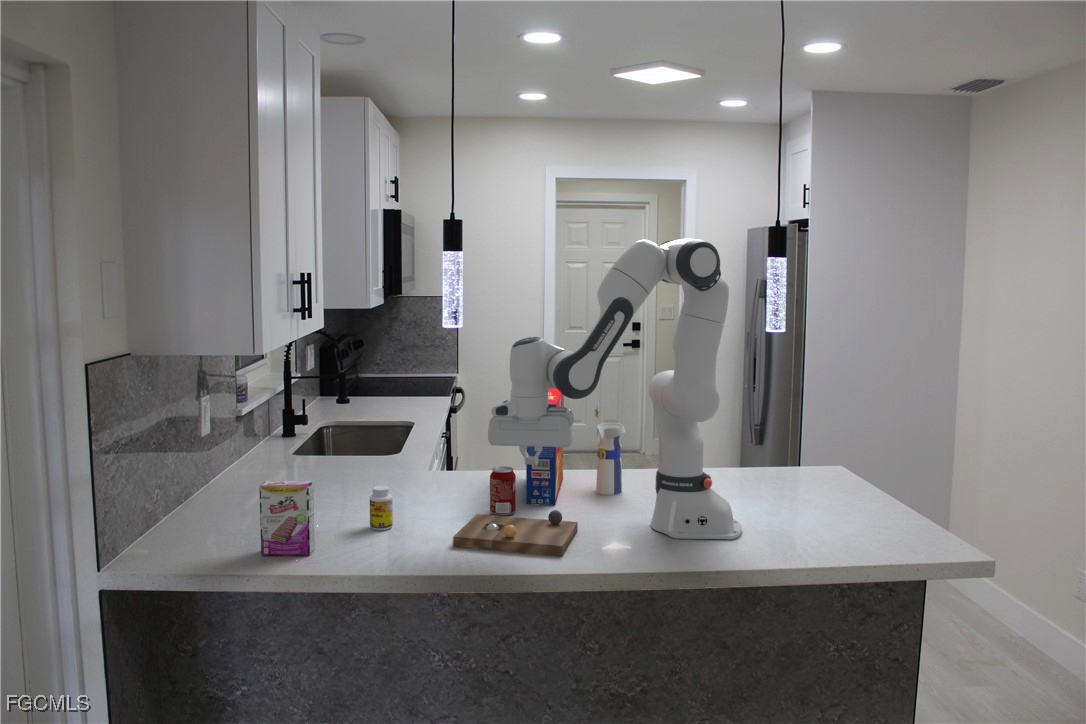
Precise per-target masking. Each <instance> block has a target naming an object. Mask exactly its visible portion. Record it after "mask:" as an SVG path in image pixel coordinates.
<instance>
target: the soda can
mask: <svg viewBox="0 0 1086 724" xmlns="http://www.w3.org/2000/svg"><path fill="white" fill-rule="evenodd" d="M516 477H517V476H516V473H515V472H514V468H513V467H512V466H506V465H505V466H496V467H495V466H494V467H492V472H491V473H490V475H489V512H490V513H492V515H495V516H508V517H510V516H511V515H513V514H515V512H516V507H517V506H516V504H517V502H516V497H517V495H516V493H517V490H516V488H517V485H516V484H517V478H516Z"/></svg>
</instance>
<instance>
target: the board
mask: <svg viewBox="0 0 1086 724" xmlns="http://www.w3.org/2000/svg"><path fill="white" fill-rule="evenodd" d="M491 523H495V524H497V525H498V526H499V528H500V531H495V530H486V527H487V526H488V525H489V524H491ZM507 525H513V526H515V528H516V530H517V532H516V535H515V536H514V537H512V538H508V537H506V536H505V534H504V528H505V527H506V526H507ZM578 525H579V524H578V521H569V520H561V522H560V523H559V524H552V523H550V521H549V519H545V518H544V519H542V518H531V517H521V516H520V517H519V516H517V517H516V516H497V515H494V514H491V515H490V514H482V513H481V514H479V513H476V514H475V515H474V516H473V517H471V519H470V520H469V521H467V522H466V524H465V525H464V526H462V528H460V530H459V531H458V532H457V533H455V534H454V535H453V537H452V542H453V543H452V547H453V548H459V549H460V548H462V549H471V550H473V549H474V550H484V551H494V552H495V551H496V552H507V553H515V552H519V553H518V554H527V553H528V555H529V554H530V555H539V556H550V557H551V556H552V557H553V556H554V557H563V556H564V554H565V553H566V551H567V550H568V548H569V546H570V545H571V543H572V541H573V540H574V538H575V537H576V535H577V533H578V530H579V528H578Z"/></svg>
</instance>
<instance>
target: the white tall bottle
mask: <svg viewBox="0 0 1086 724" xmlns="http://www.w3.org/2000/svg"><path fill="white" fill-rule="evenodd" d="M594 412H595V414H594V418H597V419H599V414H600V411H599V406H596V408H595V409H594ZM624 426H625V425H624V424H621V423H612V422H606V423H599V424H598V425H597V426H596V436H598V434H599V443H598V444H597V447H598V449H597V450H596V456H597V464H596V484H595V485H596V486H595V492H596V493H598V494H601V495H608V496H614V495H620V494H622V493H623V461H622V458H621V457H622V456H621V454H622V453H621V451H622V450H621V449H622V448H623V445H622V444H621V436H622V435H624V434H626V428H625V427H624Z"/></svg>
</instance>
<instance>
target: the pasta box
mask: <svg viewBox="0 0 1086 724" xmlns="http://www.w3.org/2000/svg"><path fill="white" fill-rule="evenodd" d="M564 397H565V396H564V395H563V394H562V393H561V392H560V391H559V390H557V389H549V390H548V407H558V408H561V407H564V406H565V404H564V399H565V398H564ZM526 451H527V453H528V455H529V456H535V454H536V452H537V451H535V447H534V446H527V449H526ZM525 467H526V468H525V470H526V473H525V474H526V475H525V477H526V478H525V479H526V481H525V484H526V485H525V486H526V487H525V489H526V490H525V492H526V494H525V503H526V505H531V504H539V505H538V506H556V504H557V501H558V497H559V493H560V491H561V487H562V483H563V480H564V447H542V451H541V453H540V454H539V456H538V464H537V465H526V466H525Z"/></svg>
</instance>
